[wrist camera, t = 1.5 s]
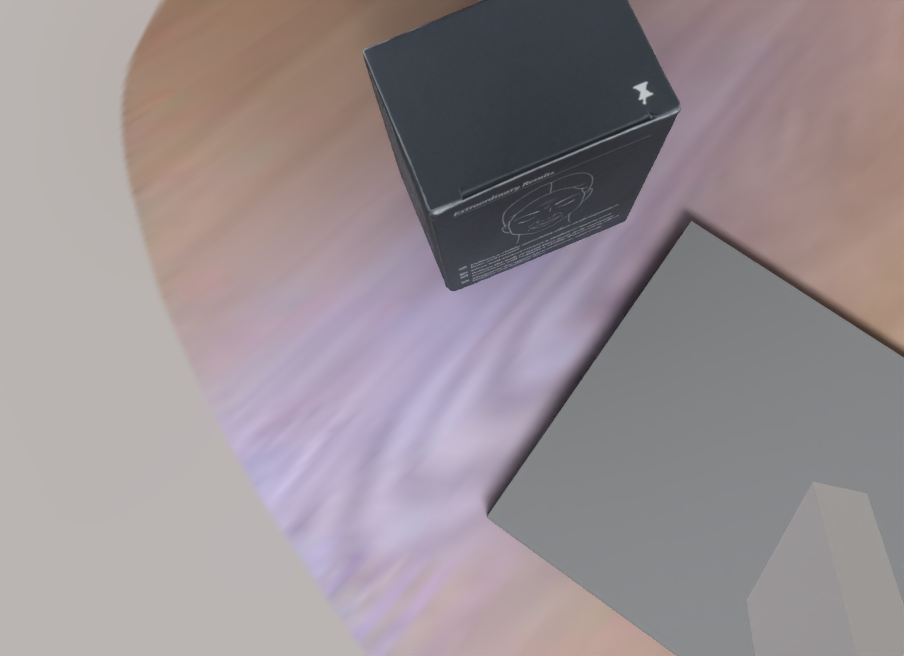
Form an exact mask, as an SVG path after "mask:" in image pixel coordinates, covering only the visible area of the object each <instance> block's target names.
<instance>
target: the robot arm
mask: <svg viewBox="0 0 904 656" xmlns="http://www.w3.org/2000/svg"><path fill="white" fill-rule="evenodd" d="M747 606H748V612H749V619H750V626H751V633H752V640H753V647H754V654H755V656H904V604H903V601H902V598H901V595H900V592H899V589H898V586H897V583H896V580H895V577H894V574H893V571H892V568H891V565H890V561H889V558H888V555H887V552H886V549H885V546H884V543H883V540H882V537H881V534H880V531H879V528H878V525H877V522H876V519H875V516H874V513H873V510H872V507H871V504H870V501H869V498H868V495H867V493H863V492H859V491H854V490H850V489H845V488H841V487H836V486H832V485H827V484H822V483H818V482H812V484H811V486H810V487H809V489H808V491H807V493H806V495H805V496H804V498H803V500H802V502H801V504H800V505H799V507H798V509H797V511H796V512H795V514H794V516H793V518H792V520H791V521H790V523H789V525H788V527H787V529H786V530H785V532H784V534H783V536H782V538H781V539H780V541H779V543H778V545H777V546H776V548H775V550H774V552H773V554H772V555H771V557H770V559H769V561H768V563H767V564H766V566H765V568H764V570H763V571H762V573H761V575H760V577H759V579H758V580H757V582H756V584H755V586H754V588H753V589H752V591H751V593H750V595H749V597H748V598H747Z"/></svg>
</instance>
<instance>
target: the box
mask: <svg viewBox="0 0 904 656" xmlns="http://www.w3.org/2000/svg"><path fill="white" fill-rule="evenodd" d="M363 56H364V60H365V63H366V66H367V69H368V73H369V76H370V79H371V82H372V85H373V89H374V92H375V95H376V99H377V102H378V105H379V108H380V111H381V114H382V117H383V120H384V123H385V126H386V130H387V133H388V136H389V139H390V142H391V145H392V149H393V152H394V155H395V158H396V162H397V165H398V168H399V171H400V174H401V177H402V179H403V181H404V184H405V186H406V189H407V191H408V193H409V196H410V198H411V201H412V203H413V206H414V208H415V211H416V213H417V215H418V218H419V220H420V223H421V225H422V227H423V230H424V232H425V235H426V237H427V240H428V242H429V244H430V247H431V250H432V252H433V254H434V257H435V259H436V262H437V264H438V266H439V268H440V271H441V274H442V277H443V279H444V281H445V285H446V287H447V288H449V290H451V291H456V290H459V289H462V288H464V287H467V286H469V285H472V284H474V283H477V282H479V281H481V280H483V279H486V278H489V277H491V276H493V275H496V274H498V273H501V272H503V271H506V270H508V269H511V268H513V267H515V266H518V265H520V264H523V263H525V262H528V261H530V260H533V259H535V258H537V257H539V256H542V255H544V254H547V253H549V252H552V251H554V250H557V249H559V248H562V247H564V246H566V245H568V244H571V243H574V242H576V241H578V240H581V239H583V238H586V237H588V236H590V235H593V234H595V233H597V232H600V231H602V230H605V229H607V228H610V227H612V226H614V225H617V224H619V223H621V222H623V221H625V220H626V219H627V216H628V214H629V212H630V210H631V208H632V206H633V204H634V202H635V200H636V198H637V196H638V194H639V192H640V190H641V188H642V185H643V184H644V182H645V180H646V178H647V175H648V173H649V171H650V170H651V168H652V166H653V164H654V161H655V160H656V158H657V155H658V154H659V151H660V149H661V147H662V146H663V143H664V141H665V139H666V137H667V135H668V133H669V131H670V129H671V127H672V125H673V123H674V121H675V118H676V116H677V114H678V113H679V112H680V102H679V99H678V98H677V96H676V94H675V92H674V91H673V89H672V87H671V85H670V83H669V81H668V79H667V78H666V76H665V74H664V72H663V70H662V68H661V66H660V64H659V62H658V60H657V58H656V56H655V54H654V52H653V50H652V48H651V46H650V44H649V42H648V40H647V38H646V36H645V34H644V32H643V30H642V28H641V26H640V24H639V22H638V20H637V18H636V16H635V14H634V12H633V10H632V8H631V6H630V4H629V2H628V0H483V1H481V2H479V3H476V4H474V5H471V6H469V7H467V8H464V9H462V10H459V11H457V12H454V13H452V14H449V15H447V16H444V17H442V18H440V19H438V20H435V21H432V22H430V23H427V24H425V25H423V26H420V27H418V28H415V29H413V30H410V31H408V32H406V33H403V34H401V35H399V36H396V37H394V38H391V39H389V40H386V41H383V42H381V43H378V44H376V45H374V46H371V47H368V48H366V49H364V50H363Z"/></svg>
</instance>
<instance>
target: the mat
mask: <svg viewBox="0 0 904 656" xmlns="http://www.w3.org/2000/svg"><path fill="white" fill-rule="evenodd" d="M812 482H818V483H822V484H827V485H832V486H836V487H841V488H845V489H850V490H854V491H859V492H863V493H867V495H868V498H869V501H870V504H871V507H872V510H873V513H874V516H875V519H876V522H877V525H878V528H879V531H880V534H881V537H882V540H883V543H884V546H885V549H886V552H887V555H888V558H889V561H890V565H891V568H892V571H893V574H894V577H895V580H896V583H897V586H898V589H899V592H900V595H901V598H902V601H903V604H904V357H902V356H900V355H899V354H897V353H896V352H894V351H893V350H891V349H890V348H888V347H886V346H885V345H883V344H882V343H880V342H879V341H877V340H876V339H874V338H872V337H871V336H869V335H868V334H866V333H865V332H863V331H862V330H860V329H858V328H857V327H855V326H854V325H852V324H851V323H849V322H848V321H846V320H844V319H843V318H841V317H840V316H838V315H837V314H835V313H834V312H832V311H831V310H829V309H827V308H826V307H824V306H823V305H821V304H820V303H818V302H817V301H815V300H813V299H812V298H810V297H809V296H807V295H806V294H804V293H803V292H801V291H799V290H798V289H796V288H795V287H793V286H792V285H790V284H789V283H787V282H785V281H784V280H782V279H781V278H779V277H778V276H776V275H775V274H773V273H771V272H770V271H768V270H767V269H765V268H764V267H762V266H761V265H759V264H758V263H756V262H754V261H753V260H751V259H750V258H748V257H747V256H745V255H744V254H742V253H740V252H739V251H737V250H736V249H734V248H733V247H731V246H730V245H728V244H726V243H725V242H723V241H722V240H720V239H719V238H717V237H716V236H714V235H712V234H711V233H709V232H708V231H706V230H705V229H703V228H702V227H700V226H698V225H697V224H695V223H694V222H692V221H691V222H690V223H689V225H688V226H687V227H686V228H685V230H684V231H683V233H682V234H681V236H680V237H679V239H678V240H677V241H676V243H675V244H674V246H673V247H672V249H671V250H670V252H669V253H668V255H667V256H666V257H665V259H664V260H663V262H662V263H661V265H660V266H659V268H658V269H657V270H656V272H655V273H654V275H653V276H652V278H651V279H650V281H649V282H648V283H647V285H646V286H645V288H644V289H643V291H642V292H641V294H640V295H639V297H638V298H637V299H636V301H635V302H634V304H633V305H632V307H631V308H630V310H629V311H628V312H627V314H626V315H625V317H624V318H623V320H622V321H621V323H620V324H619V325H618V327H617V328H616V330H615V331H614V333H613V334H612V336H611V337H610V338H609V340H608V341H607V343H606V344H605V346H604V347H603V349H602V350H601V352H600V353H599V354H598V356H597V357H596V359H595V360H594V362H593V363H592V365H591V366H590V367H589V369H588V370H587V372H586V373H585V375H584V376H583V378H582V379H581V380H580V382H579V383H578V385H577V386H576V388H575V389H574V391H573V392H572V394H571V395H570V396H569V398H568V399H567V401H566V402H565V404H564V405H563V407H562V408H561V409H560V411H559V412H558V414H557V415H556V417H555V418H554V420H553V421H552V422H551V424H550V425H549V427H548V428H547V430H546V431H545V433H544V434H543V436H542V437H541V438H540V440H539V441H538V443H537V444H536V446H535V447H534V449H533V450H532V451H531V453H530V454H529V456H528V457H527V459H526V460H525V462H524V463H523V464H522V466H521V467H520V469H519V470H518V472H517V473H516V475H515V476H514V478H513V479H512V480H511V482H510V483H509V485H508V486H507V488H506V489H505V491H504V492H503V493H502V495H501V496H500V498H499V499H498V501H497V502H496V504H495V505H494V506H493V508H492V509H491V511H490V512H489V514H488V515H487V518H488V519H490V520H491V521H492V522H494V523H495V524H496V525H498V526H499V527H501V528H502V529H503V530H505V531H506V532H507V533H509V534H510V535H511V536H513V537H514V538H516V539H517V540H518V541H520V542H521V543H522V544H524V545H525V546H527V547H528V548H529V549H531V550H532V551H533V552H535V553H536V554H538V555H539V556H540V557H542V558H543V559H544V560H546V561H547V562H549V563H550V564H551V565H553V566H554V567H555V568H557V569H558V570H560V571H561V572H562V573H564V574H565V575H566V576H568V577H569V578H571V579H572V580H573V581H575V582H576V583H577V584H579V585H580V586H582V587H583V588H584V589H586V590H587V591H588V592H590V593H591V594H593V595H594V596H595V597H597V598H598V599H599V600H601V601H602V602H603V603H605V604H606V605H608V606H609V607H610V608H612V609H613V610H614V611H616V612H617V613H619V614H620V615H621V616H623V617H624V618H625V619H627V620H628V621H630V622H631V623H632V624H634V625H635V626H636V627H638V628H639V629H641V630H642V631H643V632H645V633H646V634H647V635H649V636H650V637H652V638H653V639H654V640H656V641H657V642H658V643H660V644H661V645H663V646H664V647H665V648H667V649H668V650H669V651H671V652H672V653H674V654H675V655H676V656H755V654H754V647H753V640H752V633H751V626H750V619H749V612H748V606H747V598H748V597H749V595H750V593H751V591H752V589H753V588H754V586H755V584H756V582H757V580H758V579H759V577H760V575H761V573H762V571H763V570H764V568H765V566H766V564H767V563H768V561H769V559H770V557H771V555H772V554H773V552H774V550H775V548H776V546H777V545H778V543H779V541H780V539H781V538H782V536H783V534H784V532H785V530H786V529H787V527H788V525H789V523H790V521H791V520H792V518H793V516H794V514H795V512H796V511H797V509H798V507H799V505H800V504H801V502H802V500H803V498H804V496H805V495H806V493H807V491H808V489H809V487H810V486H811V484H812Z"/></svg>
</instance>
